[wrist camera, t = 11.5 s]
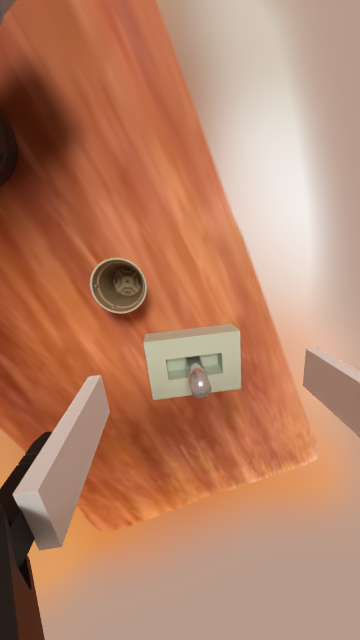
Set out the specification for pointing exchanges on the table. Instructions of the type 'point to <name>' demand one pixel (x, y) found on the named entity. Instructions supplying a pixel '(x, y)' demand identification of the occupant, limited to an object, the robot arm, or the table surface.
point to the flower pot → (118, 285)
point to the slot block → (173, 346)
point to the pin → (197, 377)
